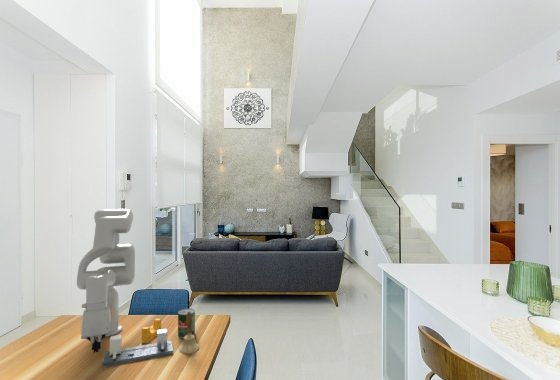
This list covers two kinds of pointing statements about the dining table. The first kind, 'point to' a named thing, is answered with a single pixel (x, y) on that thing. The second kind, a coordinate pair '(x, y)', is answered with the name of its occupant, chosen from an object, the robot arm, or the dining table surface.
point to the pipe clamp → (151, 331)
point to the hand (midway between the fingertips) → (96, 351)
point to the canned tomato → (182, 322)
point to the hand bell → (189, 338)
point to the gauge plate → (141, 351)
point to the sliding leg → (115, 345)
